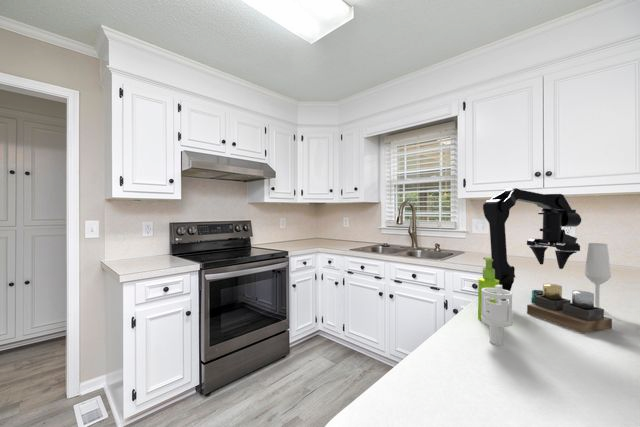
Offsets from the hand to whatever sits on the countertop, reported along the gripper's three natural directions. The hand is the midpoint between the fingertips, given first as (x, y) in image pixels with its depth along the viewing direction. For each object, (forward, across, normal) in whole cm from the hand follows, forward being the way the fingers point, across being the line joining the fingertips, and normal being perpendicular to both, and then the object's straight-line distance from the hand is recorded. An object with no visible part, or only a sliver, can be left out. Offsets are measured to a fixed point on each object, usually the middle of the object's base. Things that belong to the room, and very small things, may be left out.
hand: (550, 266), depth 113 cm
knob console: (+14, -19, +10) cm, 26 cm away
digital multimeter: (+15, +2, +1) cm, 15 cm away
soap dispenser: (+15, -17, +35) cm, 42 cm away
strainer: (+15, -33, +43) cm, 57 cm away
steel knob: (+8, -23, +9) cm, 26 cm away
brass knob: (+8, -14, +12) cm, 20 cm away
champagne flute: (+14, -11, -8) cm, 19 cm away
